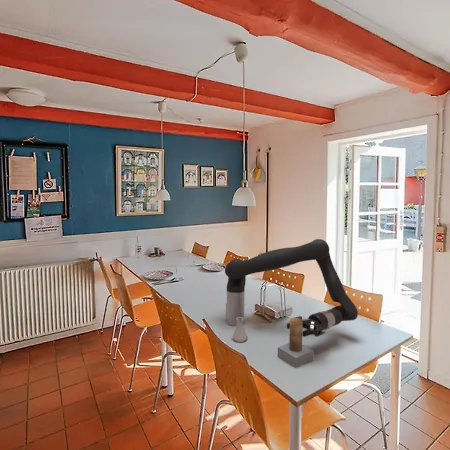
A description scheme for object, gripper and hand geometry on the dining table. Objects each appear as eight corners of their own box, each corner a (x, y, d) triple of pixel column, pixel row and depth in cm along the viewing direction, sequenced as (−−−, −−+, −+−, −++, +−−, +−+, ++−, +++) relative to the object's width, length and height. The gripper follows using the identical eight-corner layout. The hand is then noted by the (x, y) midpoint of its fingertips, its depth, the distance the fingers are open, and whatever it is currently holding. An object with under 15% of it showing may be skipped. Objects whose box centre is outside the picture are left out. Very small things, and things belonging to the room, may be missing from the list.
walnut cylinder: (286, 347, 128) (287, 319, 127) (295, 344, 131) (295, 317, 130) (295, 353, 124) (296, 324, 123) (304, 349, 127) (305, 321, 125)
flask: (228, 340, 143) (228, 319, 142) (237, 334, 149) (237, 314, 148) (242, 344, 139) (242, 322, 138) (250, 338, 145) (250, 317, 144)
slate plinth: (277, 356, 129) (277, 347, 129) (294, 349, 135) (295, 340, 134) (295, 367, 121) (295, 357, 120) (313, 360, 126) (313, 350, 126)
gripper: (309, 307, 141) (282, 315, 132) (336, 318, 129) (309, 327, 120) (308, 323, 141) (282, 332, 132) (335, 335, 129) (308, 346, 121)
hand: (295, 330), depth 126 cm, fingers open, 8 cm apart
